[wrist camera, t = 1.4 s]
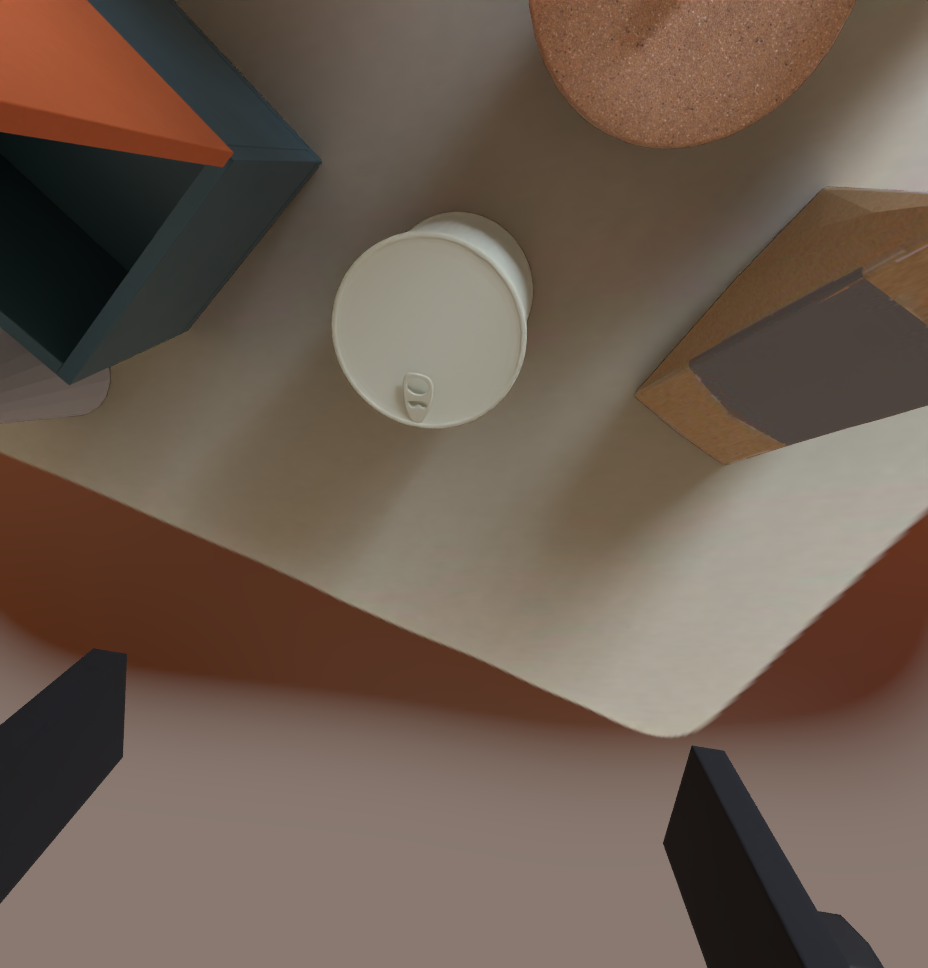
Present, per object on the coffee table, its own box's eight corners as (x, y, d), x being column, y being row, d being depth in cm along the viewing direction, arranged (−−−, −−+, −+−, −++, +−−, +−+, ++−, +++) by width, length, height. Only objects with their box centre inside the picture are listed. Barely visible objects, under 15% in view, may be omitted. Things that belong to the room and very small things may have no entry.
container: (187, 331, 42) (69, 385, 32) (-48, 115, 38) (-277, 95, 27) (322, 162, 36) (233, 160, 26) (65, -117, 32) (-169, -255, 21)
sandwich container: (628, 394, 41) (668, 505, 27) (822, 180, 34) (1000, 190, 21) (725, 468, 42) (808, 608, 29) (929, 278, 35) (1159, 346, 22)
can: (379, 351, 41) (322, 416, 31) (392, 199, 37) (330, 213, 26) (517, 375, 41) (507, 450, 30) (546, 225, 37) (547, 250, 26)
